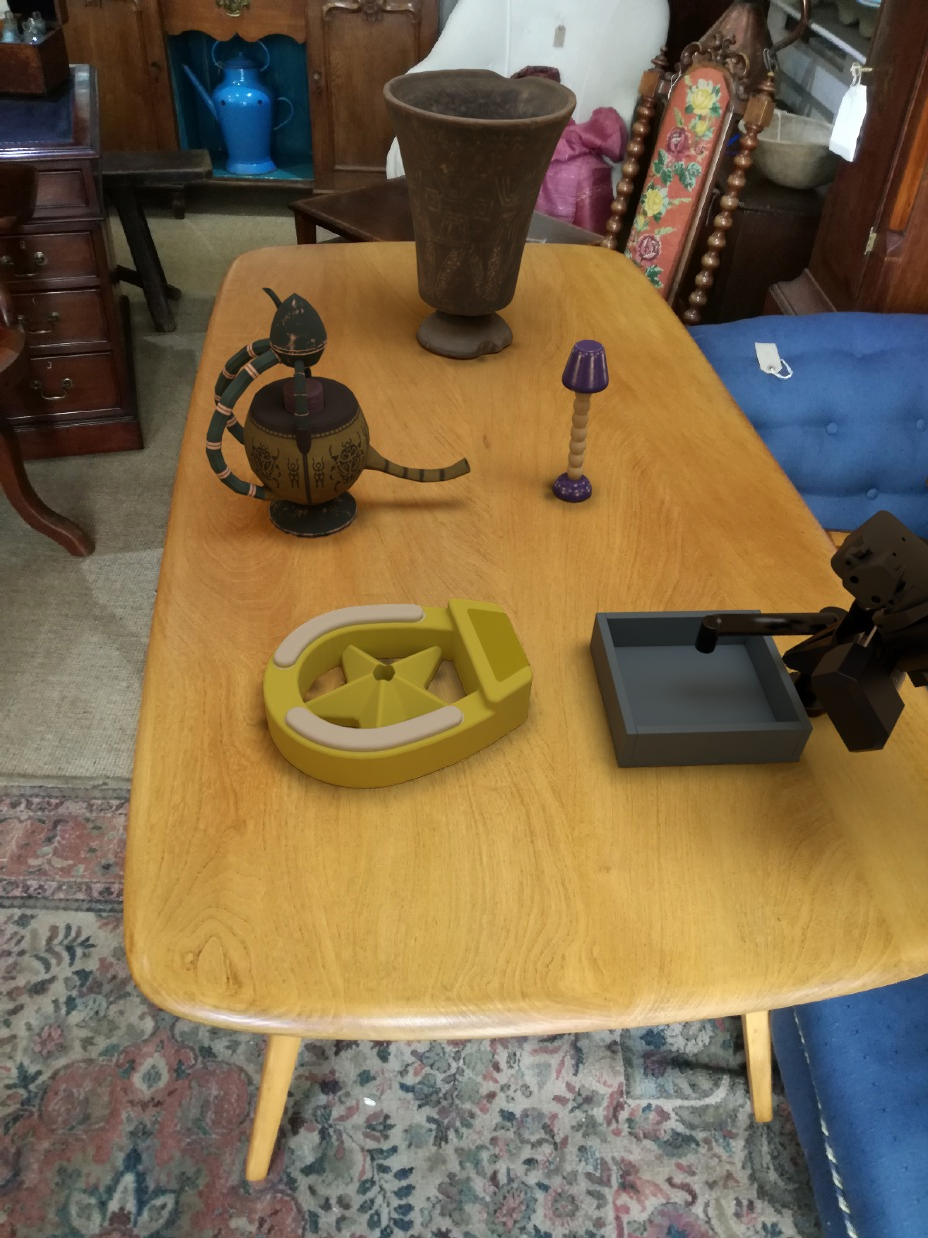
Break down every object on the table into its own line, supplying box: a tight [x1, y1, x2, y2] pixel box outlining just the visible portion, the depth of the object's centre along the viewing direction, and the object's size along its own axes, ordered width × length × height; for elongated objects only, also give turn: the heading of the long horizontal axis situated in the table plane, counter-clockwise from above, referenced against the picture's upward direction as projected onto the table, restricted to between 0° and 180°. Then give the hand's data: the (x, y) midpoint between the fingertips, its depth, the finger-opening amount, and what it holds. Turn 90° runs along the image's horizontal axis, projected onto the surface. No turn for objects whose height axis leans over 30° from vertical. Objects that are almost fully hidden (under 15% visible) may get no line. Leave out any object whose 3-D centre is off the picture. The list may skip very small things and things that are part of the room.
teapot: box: [205, 287, 472, 540], centre depth 88 cm, size 12×25×23 cm, turn 96°
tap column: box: [788, 671, 826, 718], centre depth 77 cm, size 4×4×8 cm
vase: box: [382, 68, 577, 359], centre depth 115 cm, size 22×22×30 cm
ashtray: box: [262, 597, 534, 789], centre depth 76 cm, size 16×21×5 cm
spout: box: [695, 605, 849, 654], centre depth 74 cm, size 12×3×3 cm, turn 94°
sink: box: [589, 609, 814, 768], centre depth 77 cm, size 15×14×4 cm
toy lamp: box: [552, 339, 610, 503], centre depth 95 cm, size 5×5×17 cm
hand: (785, 660), depth 71 cm, fingers closed
